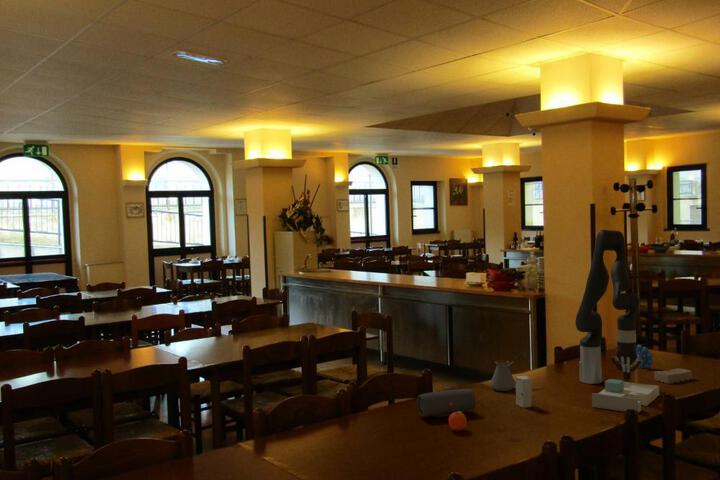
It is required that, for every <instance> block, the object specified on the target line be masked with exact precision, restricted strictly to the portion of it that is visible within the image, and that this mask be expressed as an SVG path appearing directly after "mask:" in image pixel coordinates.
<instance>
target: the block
mask: <svg viewBox="0 0 720 480" xmlns="http://www.w3.org/2000/svg"><path fill="white" fill-rule="evenodd" d="M624 382H625V380H624V379H623V380H622V379H612V378H609V379H607V380H605V381H604V389H605V391H607V392H615V393H620V392H622V391H623V390H624Z"/></svg>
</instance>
